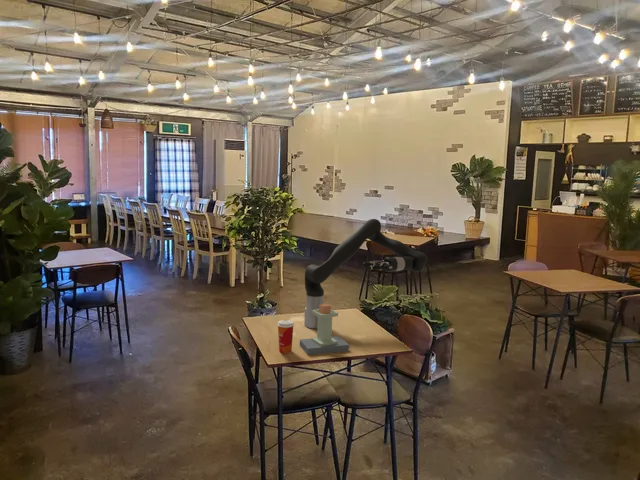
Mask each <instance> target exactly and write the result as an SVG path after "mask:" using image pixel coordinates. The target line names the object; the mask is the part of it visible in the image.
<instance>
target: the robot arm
mask: <svg viewBox="0 0 640 480" xmlns="http://www.w3.org/2000/svg"><path fill="white" fill-rule="evenodd" d="M381 231H382V223H381V221H380V220H379V219H376V218H371V219H368V220H367V221H365V223H364V224H363V225H361V227H359V228H358V229H357V230H356V231H355V232H354V233H352V234H351V235H350V236H348V237H347V238H346V239H344V241H342V242H341V243H339V244H338V245H337V246H336V247H335V248H334V249H333V251H332V253H331V255H330V257H329V258H328V259H327V260H326V261H325V262H323V263H322V264H320V265H319V264H314V263H312V264H310V265H308V266H307V267H306V269H305V271H304V288H305V292H306V294H305V295H306V299H305V301H306V304H305V305H306V306H305V308H304V325H305V327H306V328H309V329H317V324H318V317H317V316H316V315H314V314H312V310H317V309H319V305H320V304H325V303H324V302H325V301H324V300H325V299H324V298H325V296H324V295H325V294H324V293H325V291H324V288H323V287H322V285H321V284H322V283H323V282H325V281H326V280H327V279H328V278H329V277H330V276H332V274H333V273H334V272H335V271H336V270H338V268H339V267H341V266H342V265H343V264H345V262H347V261H348V260H350V259H351V258H352V257H353V256H354V255H355V254H356V253H357V252H358V251H359V250H360V249H361V247H362V245H363V244H364V243H365V242H366V241H367V240H369V241H371V242H374V243H375V244H378V245H379V246H381V247H383V248H385V249H387V250H389V251H391V252H392V253H394V254H396V255H397V256H390V257H389V256H388V257H385V258H384V259H383V260H378V259H377V260H368V262H363V263H362V267H363V268H369V267H370V268H372V269H371V270H372V271H377V270H378V271H383V272H384V271H385V272H387V273H391V272H400V271H407V270H408V271H412V272H421V271H423V270H424V268H425V265H426V264H427V262H428V256H427V254H425V253H424V252H423V251H419V250H416V249H415V248H414V249H413V248H411V247H409V246H408V245H406V243H403V242H402V241H400V240H396V239H393V238H389V237H388V236H386V235H385V234H383V233H382V232H381Z"/></svg>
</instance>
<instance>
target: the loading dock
mask: <svg viewBox="0 0 640 480" xmlns="http://www.w3.org/2000/svg"><path fill="white" fill-rule="evenodd" d="M311 338H312V337H311ZM311 338H301V339H299V347H300V348H301V349H302V350H303V351H304V353H305V354H306V355H307V356H312V355H321V354H331V353H342V352H349V350H350V345H349V343H348V342H346V341H345V339H344V338H342V337H341V336H340V335H334V336H333V335H332V338H333V339H335V340H336V341H337V344H332V345H326V346H319V345H318V344H316V343H315V342H313V341H311Z"/></svg>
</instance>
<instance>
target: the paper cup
mask: <svg viewBox="0 0 640 480" xmlns="http://www.w3.org/2000/svg"><path fill="white" fill-rule="evenodd" d="M294 326H295V324H294V322H293V320H289V319H287V320H286V319H284V320H283V319H281V320H278V322H277V331H278V335H277V337H278V352H279V353H280V354H285V355H286V354H291V353H292V350H293V349H292V347H293V336H294Z"/></svg>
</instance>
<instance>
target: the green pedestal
mask: <svg viewBox="0 0 640 480" xmlns="http://www.w3.org/2000/svg"><path fill="white" fill-rule="evenodd" d="M312 314H314V315H316V316H317V317H318V324H317V328H316V331H317V333H316V336H315V337H311V341H313V342H315V343H316V344H318V345H319V346H326V345H332V344H337V341H336V340H335V339H333V338H332V337H333V318H335V317H339V312H337V311H335V310H334V309H332V308H331V313H329V314H320V313H319V309H317V310H312Z"/></svg>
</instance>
